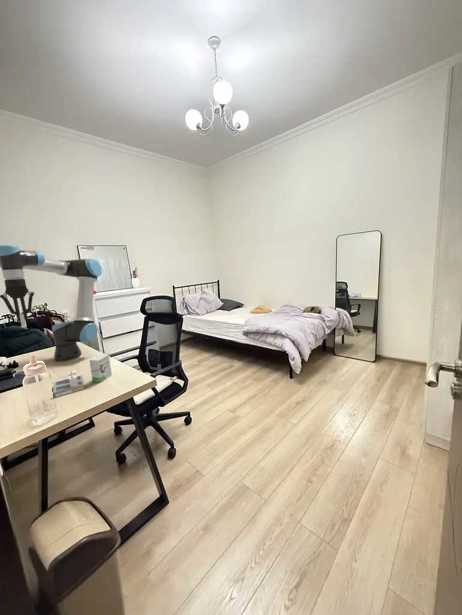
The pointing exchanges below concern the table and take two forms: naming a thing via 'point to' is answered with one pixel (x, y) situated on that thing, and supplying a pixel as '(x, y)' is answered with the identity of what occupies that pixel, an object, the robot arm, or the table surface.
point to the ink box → (100, 368)
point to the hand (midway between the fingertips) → (24, 327)
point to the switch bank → (67, 387)
